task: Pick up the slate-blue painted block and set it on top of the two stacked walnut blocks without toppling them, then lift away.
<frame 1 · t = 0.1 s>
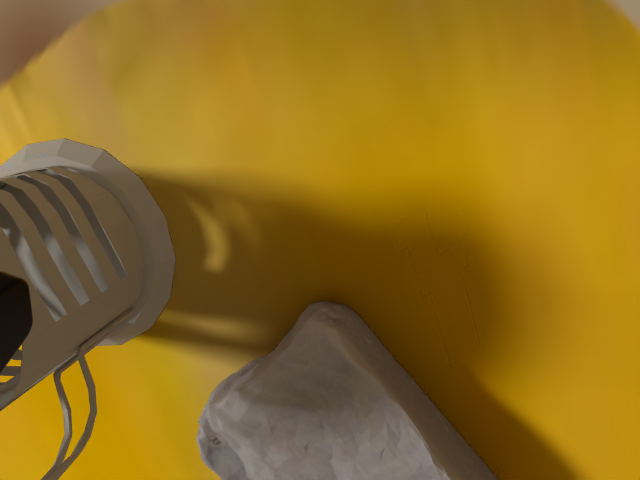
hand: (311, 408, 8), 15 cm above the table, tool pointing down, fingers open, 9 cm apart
stone block: (345, 439, 27), on the table
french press: (92, 261, 28), on the table
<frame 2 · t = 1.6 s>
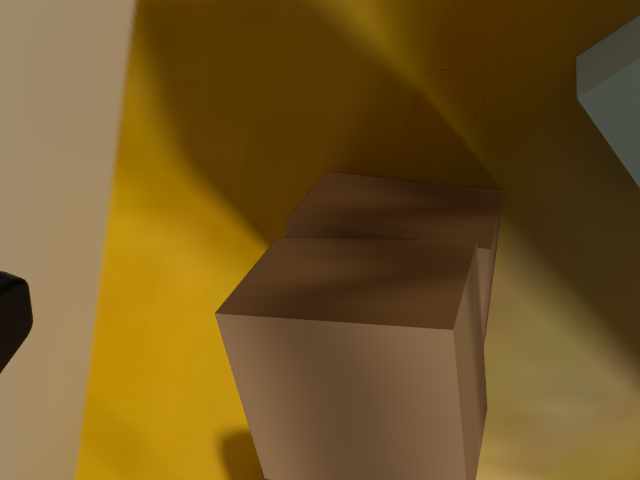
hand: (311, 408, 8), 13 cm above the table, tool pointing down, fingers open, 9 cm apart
tower mid: (383, 323, 19), point 4 cm above the table, touching tower base
tower base: (409, 254, 22), on the table, touching tower mid
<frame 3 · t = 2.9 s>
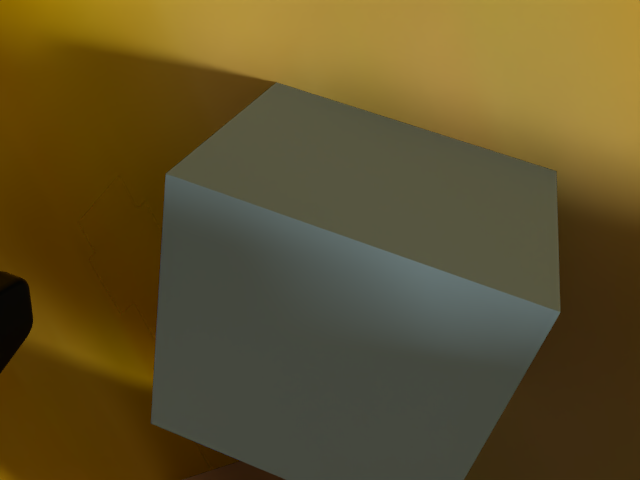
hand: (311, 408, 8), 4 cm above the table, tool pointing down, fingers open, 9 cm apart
slate block: (377, 238, 12), on the table
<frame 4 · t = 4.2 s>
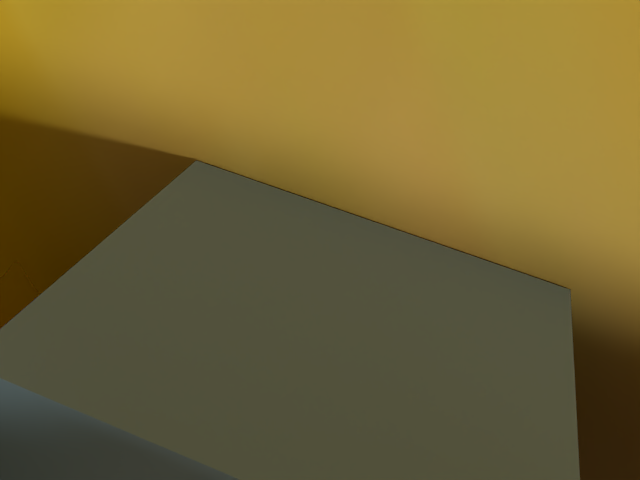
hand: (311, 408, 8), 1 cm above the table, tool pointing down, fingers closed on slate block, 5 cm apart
slate block: (333, 357, 9), on the table, touching gripper
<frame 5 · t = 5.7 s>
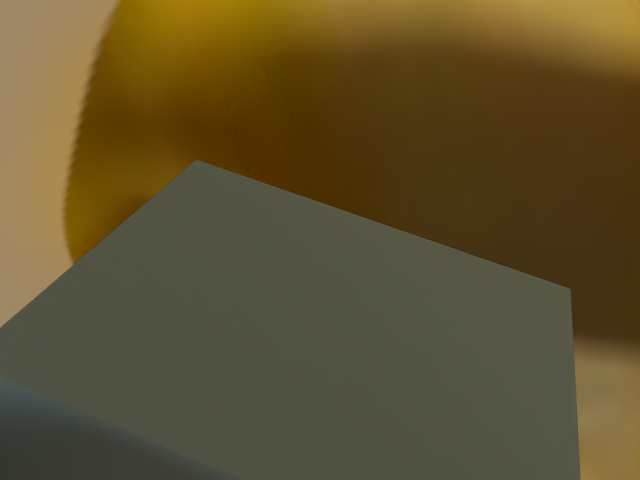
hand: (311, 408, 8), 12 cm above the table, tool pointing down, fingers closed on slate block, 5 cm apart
slate block: (333, 356, 9), point 11 cm above the table, touching gripper
when the fingers open (10 cm above the table, at t = 7.7 s): slate block drops 1 cm, resting on tower mid.
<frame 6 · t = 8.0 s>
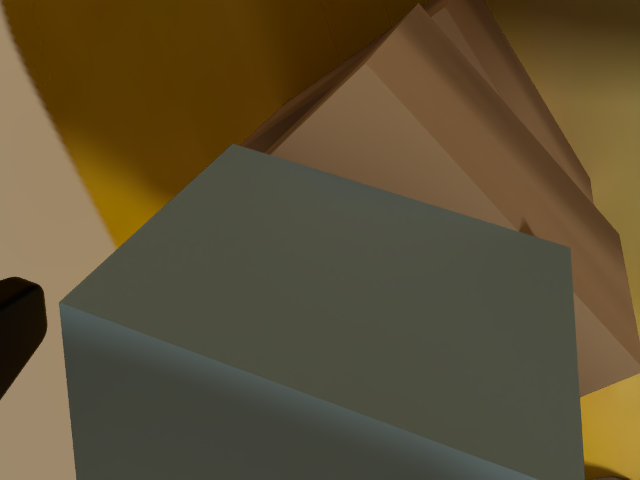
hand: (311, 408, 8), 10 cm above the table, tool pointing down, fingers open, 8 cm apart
tower mid: (407, 208, 13), point 4 cm above the table, touching slate block, tower base
tower base: (428, 139, 17), on the table, touching tower mid
slate block: (358, 321, 10), point 8 cm above the table, touching tower mid
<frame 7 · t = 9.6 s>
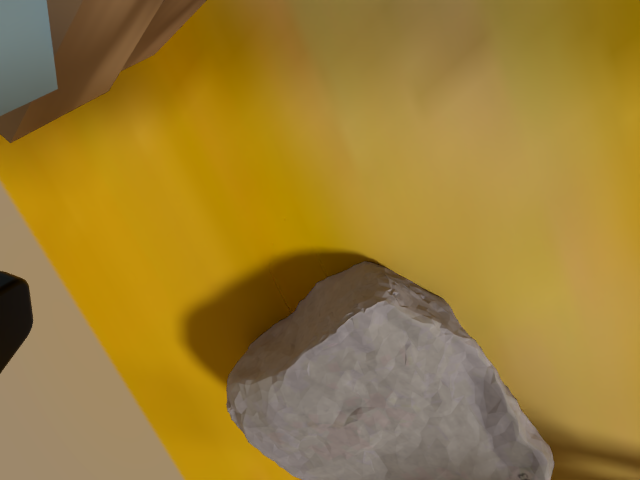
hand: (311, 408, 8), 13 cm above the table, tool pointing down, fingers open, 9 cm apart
stone block: (406, 380, 26), on the table
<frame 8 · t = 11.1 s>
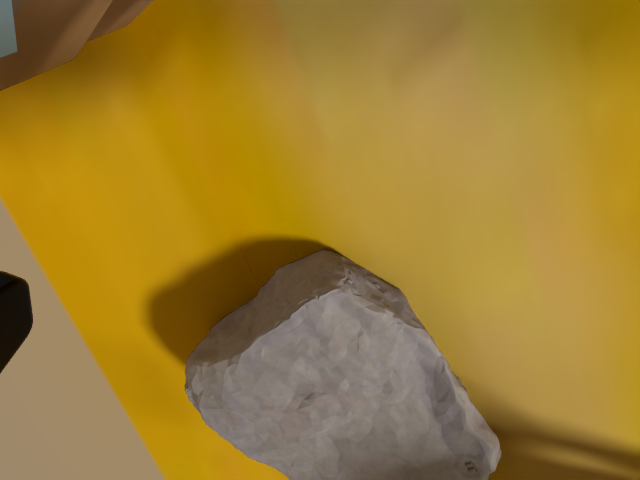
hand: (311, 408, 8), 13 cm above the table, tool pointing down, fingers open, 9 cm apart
stone block: (364, 367, 26), on the table
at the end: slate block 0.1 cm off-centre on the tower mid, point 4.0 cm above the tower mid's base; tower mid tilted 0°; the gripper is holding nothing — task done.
